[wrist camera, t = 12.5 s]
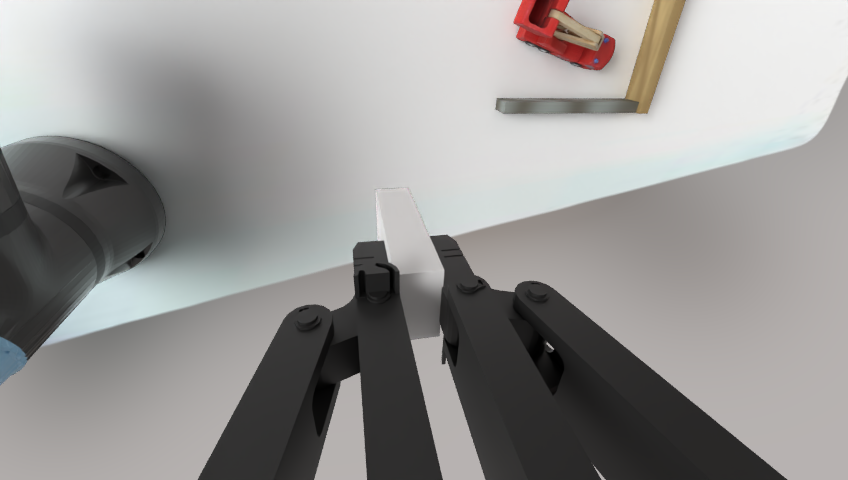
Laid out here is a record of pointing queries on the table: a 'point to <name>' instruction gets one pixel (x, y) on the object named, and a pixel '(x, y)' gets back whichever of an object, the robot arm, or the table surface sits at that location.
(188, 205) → the table surface
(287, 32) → the table surface
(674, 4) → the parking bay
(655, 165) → the table surface
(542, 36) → the toy fire truck
